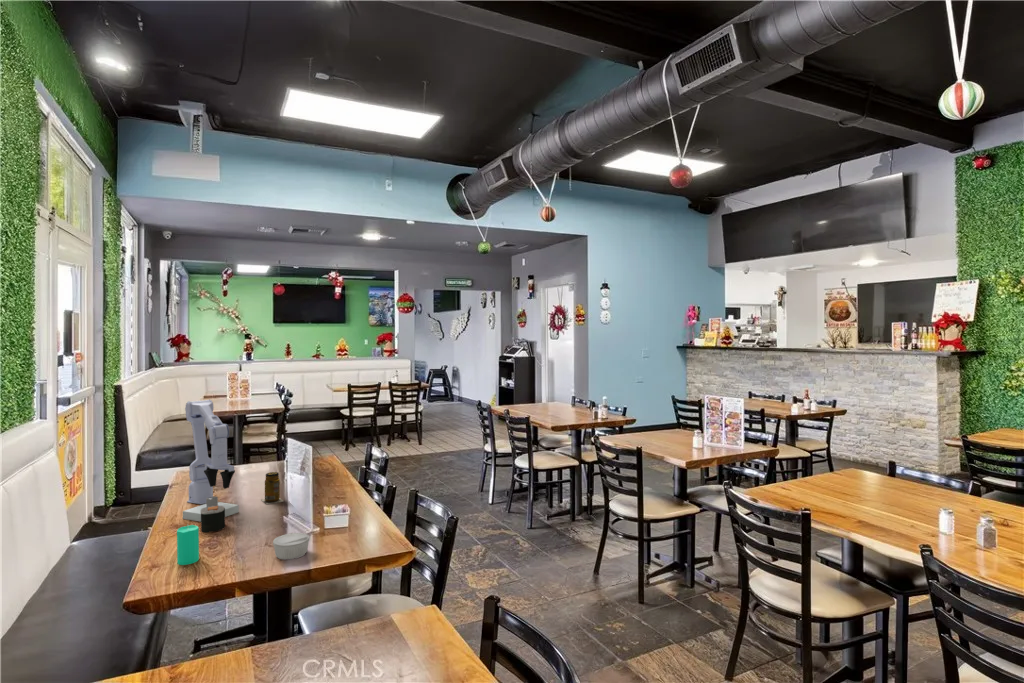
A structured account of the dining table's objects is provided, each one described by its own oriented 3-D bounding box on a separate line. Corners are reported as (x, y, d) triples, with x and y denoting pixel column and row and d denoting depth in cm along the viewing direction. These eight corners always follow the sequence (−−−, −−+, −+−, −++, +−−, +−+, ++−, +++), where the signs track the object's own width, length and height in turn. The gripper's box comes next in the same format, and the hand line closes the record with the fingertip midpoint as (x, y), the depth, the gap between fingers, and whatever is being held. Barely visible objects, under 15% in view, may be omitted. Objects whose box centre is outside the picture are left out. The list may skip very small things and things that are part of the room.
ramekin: (297, 562, 174) (297, 546, 174) (265, 560, 176) (265, 543, 176) (316, 549, 185) (316, 533, 185) (285, 547, 187) (285, 531, 187)
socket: (182, 518, 217) (182, 511, 217) (213, 508, 230) (213, 501, 230) (208, 522, 212) (208, 515, 212) (238, 512, 225) (238, 504, 225)
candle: (183, 557, 179) (182, 520, 178) (202, 557, 179) (202, 520, 179) (173, 565, 173) (173, 527, 172) (193, 564, 173) (193, 526, 173)
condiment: (278, 497, 246) (278, 470, 246) (284, 501, 240) (283, 474, 240) (260, 500, 242) (260, 473, 242) (266, 504, 235) (266, 476, 235)
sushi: (225, 523, 212) (225, 502, 212) (224, 530, 204) (224, 508, 204) (201, 526, 208) (201, 505, 208) (199, 533, 201) (199, 512, 200)
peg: (204, 516, 220) (203, 498, 220) (212, 513, 224) (211, 496, 224) (212, 517, 219) (212, 499, 219) (220, 513, 223) (219, 496, 223)
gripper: (198, 454, 226) (198, 487, 226) (223, 457, 221) (224, 491, 221) (213, 451, 233) (213, 483, 233) (238, 454, 227) (238, 486, 227)
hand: (219, 487), depth 227 cm, fingers open, 7 cm apart
